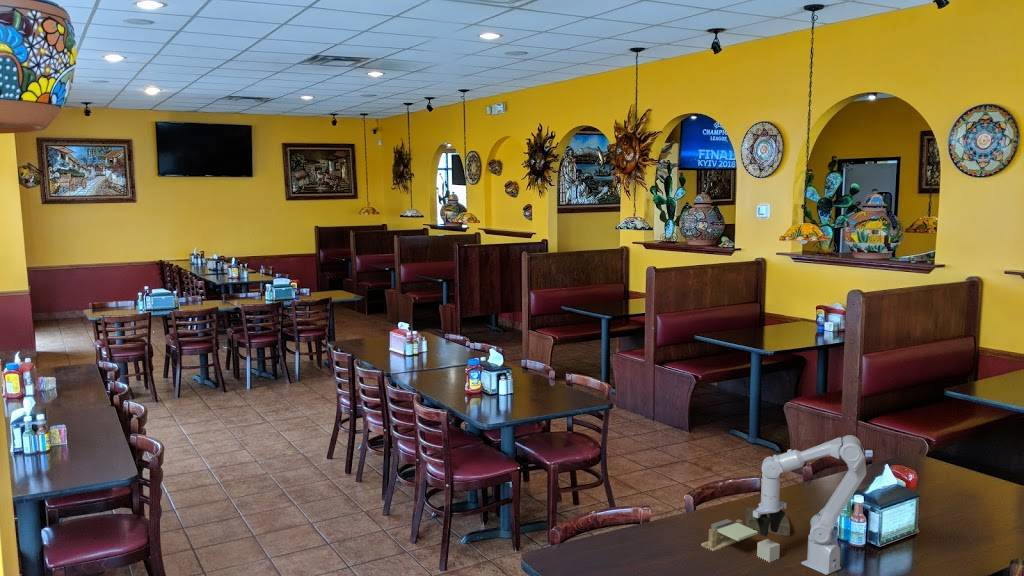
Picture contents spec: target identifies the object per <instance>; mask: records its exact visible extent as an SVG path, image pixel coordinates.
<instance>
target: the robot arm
mask: <svg viewBox="0 0 1024 576" xmlns="http://www.w3.org/2000/svg"><path fill="white" fill-rule="evenodd" d="M827 456H830V457H833V458H835V459H840V457H841V458H842V460H843V461H844V462H845V464H846V465H847V468H848V470H847V472H846V473H845V475H844V476H843V477H842V479H841V481H840V482H839V484H838V485H837V487H836V488H835V490H834V492H833V493H832V495H831V497H830V498H829V500H828V501H827V502H826V504H825V505H824V507H823V508H821V509H820V511H819V512H818V513H817V514H814V515H813V516H812V517H811V519H810V531H809V534H808V537H807V538H808V539H807V555H806V556H807V557H806V558H807V559H806V560H803V561H801V562H800V563H801V565H803V566H805V567H808V568H810V569H812V570H814V571H817V572H818V573H822V574H823V575H825V576H826V575H829V574H832V573H835V572H836V571H839V570H841V569H842V567H841V547H840V546H839V545H837V544H836V543H835V542H834V541H833V537H832V532H833V530H834V528H835V526H836V522H837V520H838V518H839V516H840V515H841V514H842V513H843V511H844V509H845V508H846V507H847V505H848V503H849V501H850V500H851V499H852V497H853V495H854V494H855V492H856V491H857V490H858V488H859V486H860V485H861V483H862V482H863V480H864V478H865V477H866V476H867V465H866V456H865V449H864V447H863V445H862V443H861V441H860V439H859V438H858V437H856V436H855V435H851V434H850V435H849V434H848V435H845V436H843V437H840V436H839V437H836V438H834V439H831V440H828V441H826V442H823V443H821V444H819V445H816V446H812V447H811V448H808V449H805V450H803V451H800V450H798V449H793V450H792V448H790V449H787V452H784V453H780V454H778V455H777V454H773V456H766V457H765V458H764V459H763V460H762V463H761V484H760V485H761V488H760V489H761V491H760V502H758V507H756V508H757V509H756V510H754V511H753V517H755V518H756V520H757V523H758V525H759V529H760V531H759V533H760V535H761V536H763V537H765V538H766V537H768V534H769V533H768V528H769V524H770V528H771V531H772V532H775V533H777V532H778V529H779V525H780V523H781V520H782V518H783V517H784V516H785V514H786V511H784V510H786V509H787V502H785V501H782V500H781V501H780V491H781V489H780V488H781V485H780V484H781V481H780V475H781V473H783V474H785V473H786V472H787V473H788V472H790V471H794V470H796V469H800V468H803V466H804V464H805V463H806V462H809V461H810V462H811V461H813V460H817V459H820V458H824V457H827ZM782 509H784V510H782ZM768 513H769V516H770V518H769V517H767V514H768Z"/></svg>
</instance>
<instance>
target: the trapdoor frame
mask: <svg viewBox="0 0 1024 576" xmlns="http://www.w3.org/2000/svg"><path fill="white" fill-rule="evenodd" d="M743 522H744V521H743V520H742V519H739V518H738V519H736V520H735V522H733V523H732V524H735V523H739V524H742V525H744V523H743ZM732 524H729V525H732ZM729 525H726V526H729ZM726 526H723V527H726ZM723 527H720V528H723ZM720 528H717V529H720ZM717 529H712V528H709V529H708V541H705V542H702V543H701V545H700V546H701V547H702V548H704V549H707V548H708V549H707V550H709V549H710V550H709V551H711V550H712V551H711V552H713V551H717V550H720V549H722V547H723V548H725V546H726V547H727V546H730V545H731V546H732V545H734V544H736V542H737V543H739V542H742V541H743V540H744V539H742V541H741V540H739V541H737V540H735V539H732V538H730V537H728V536H726V535H724V534H721V533H719V532H717Z"/></svg>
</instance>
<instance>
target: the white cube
mask: <svg viewBox="0 0 1024 576" xmlns="http://www.w3.org/2000/svg"><path fill="white" fill-rule="evenodd" d="M756 546H757V547H756V548H757V549H756V557H757V556H758V557H757V558H759V557H760V558H759V559H761V558H762V559H761V560H763V559H764V560H763V561H765V560H766V561H765V562H767V561H768V562H767V563H772V562H774V560H775V561H776V559H777V560H779V559H780V548H781V547H780V546H781V544H780V543H777V542H775V541H773V540H772V539H769V538H766V539H763V540H761V541H758V542H757V545H756ZM771 561H772V562H771Z"/></svg>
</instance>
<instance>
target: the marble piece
mask: <svg viewBox="0 0 1024 576" xmlns="http://www.w3.org/2000/svg"><path fill="white" fill-rule="evenodd" d="M757 508H758V507H746V508H745V518H744V519H745V526H746V527H749V528H751V529H755V530H756V531H757V530H760V529H759V525H758V523H757V520H756V518H755V517H753V511H754V510H756V509H757ZM767 517H769V518H770V516H769V513H768V514H767ZM768 532H771V533H770V534H772V533H775V532H772V531H771V528H770V524H769V528H768ZM777 534H779V535H778V536H781V535H783V536H785V537H791V524H790V521H789V518H788V517H787V515H786V513H785V516H784V517H783V518H782V520H781V523H780V525H779V529H778V532H777V533H775V534H774V535H777Z"/></svg>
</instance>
